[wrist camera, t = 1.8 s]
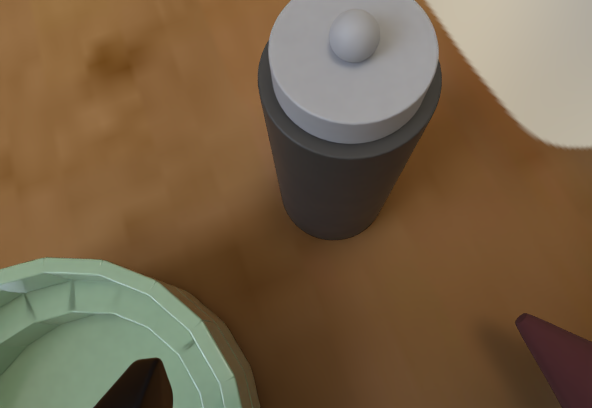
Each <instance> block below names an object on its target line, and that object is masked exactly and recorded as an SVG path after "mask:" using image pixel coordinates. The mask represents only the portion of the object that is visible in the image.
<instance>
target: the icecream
mask: <svg viewBox="0 0 592 408" xmlns="http://www.w3.org/2000/svg"><path fill="white" fill-rule="evenodd" d="M515 324H516V326H517V328H518V330H519V332H520V334H521V336H522V338H523V340H524V341H525V343H526V345H527V347H528V348H529V350H530V352H531V353H532V355H533V357H534V359H535V360H536V362H537V364H538V366H539V367H540V369H541V371H542V372H543V374H544V376H545V378H546V379H547V381H548V383H549V385H550V387H551V388H552V390H553V392H554V394H555V395H556V397H557V399H558V401H559V403H560V404H561V406H562V408H592V342H590V341H588V340H586V339H584V338H582V337H579V336H577V335H575V334H573V333H571V332H568V331H566V330H564V329H562V328H560V327H557V326H555V325H553V324H551V323H549V322H546V321H544V320H542V319H539V318H537V317H534V316H532V315H529V314H527V313H524V314H522V315H520V316H519V317H518V318H517V320H516V321H515Z"/></svg>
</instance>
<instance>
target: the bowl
mask: <svg viewBox="0 0 592 408" xmlns="http://www.w3.org/2000/svg"><path fill="white" fill-rule="evenodd" d="M154 357H157V358H160V359H161V360H162V362H163V364H164V367H165V370H166V373H167V376H168V379H169V382H170V385H171V388H172V392H173V408H261V407H260V403H259V398H258V394H257V390H256V386H255V381H254V377H253V373H252V369H251V367H250V365H249V363H248V361H247V360H246V358H245V356H244V354H243V353H242V351H241V349H240V348H239V346H238V344H237V343H236V341H235V339H234V338H233V336H232V334H231V333H230V331H229V329H228V327H227V326H226V325H225V324H224V322H223V321H222V320H221V319H220V318H218V317H217V316H216V315H215V314H214V313H213V312H211V311H210V310H209V309H208V308H207V307H206V306H204V305H203V304H202V303H201V302H200V301H199V300H197V299H196V298H195V297H194V296H193V295H192V294H190V293H189V292H187V291H186V290H183V289H180V288H178V287H175V286H173V285H170V284H168V283H165V282H162V281H160V280H157V279H155V278H152V277H150V276H147V275H144V274H142V273H139V272H136V271H133V270H131V269H128V268H125V267H123V266H120V265H117V264H114V263H112V262H109V261H106V260H102V259H79V258H54V257H46V258H40V259H36V260H32V261H29V262H25V263H21V264H18V265H14V266H10V267H7V268H3V269H0V408H93V407H94V406H95V405H96V404H97V402H98V401H99V400H100V399H101V398H102V397H103V396H104V395H105V393H106V392H107V391H108V390H109V389H110V388H111V387H112V385H113V384H114V383H115V382H116V381H117V380H118V379H119V377H120V376H121V375H122V374H123V373H124V372H125V371H126V370H127V368H128V367H129V366H130V365H131V364H132V363H133V362H134V361H136V360H138V359H146V358H154Z"/></svg>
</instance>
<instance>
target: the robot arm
mask: <svg viewBox="0 0 592 408" xmlns="http://www.w3.org/2000/svg"><path fill="white" fill-rule="evenodd" d="M93 408H173V392H172V388H171V385H170V382H169V379H168V376H167V373H166V370H165V367H164V364H163V362H162V360H161V359H160V358H157V357H154V358H146V359H138V360H136V361H134V362H133V363H132V364H131V365H130V366H129V367H128V368H127V370H126V371H125V372H124V373H123V374H122V375H121V376H120V377H119V379H118V380H117V381H116V382H115V383H114V384H113V385H112V387H111V388H110V389H109V390H108V391H107V392H106V393H105V395H104V396H103V397H102V398H101V399H100V400H99V401H98V402H97V404H96V405H95V406H94V407H93Z"/></svg>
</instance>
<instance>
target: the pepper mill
mask: <svg viewBox="0 0 592 408" xmlns="http://www.w3.org/2000/svg"><path fill="white" fill-rule="evenodd" d="M438 57H439V48H438V41H437V36H436V33H435V30H434V27H433V25H432V23H431V21H430V19H429V17H428V16H427V14H426V13H425V11H424V10H423V9H422V8H421V7H420V5H419V4H418V3H417V2H416V1H414V0H291V1H290V2H289V3H288V4H287V5H286V7H285V8H284V9H283V10H282V11H281V13H280V15H279V16H278V18H277V19H276V21H275V24H274V26H273V28H272V31H271V35H270V38H269V41H268V42H267V44H266V46H265V48H264V50H263V53H262V55H261V59H260V63H259V69H258V88H259V94H260V99H261V103H262V108H263V112H264V117H265V122H266V126H267V131H268V136H269V140H270V145H271V149H272V154H273V159H274V163H275V168H276V173H277V177H278V182H279V186H280V191H281V196H282V200H283V204H284V207H285V210H286V212H287V214H288V215H289V217H290V218H291V220H292V221H293V222H294V223H295V224H296V225H297V226H298V227H299V228H300V229H301V230H303V231H304V232H306V233H308V234H310V235H312V236H314V237H317V238H321V239H325V240H341V239H346V238H349V237H353V236H355V235H357V234H359V233H361V232H362V231H364V230H365V229H366V228H367V227H369V226H370V225H371V224H372V222H373V221H374V220H375V219H376V217H377V216H378V214H379V212H380V210H381V208H382V207H383V205H384V203H385V201H386V199H387V197H388V196H389V194H390V192H391V190H392V188H393V186H394V185H395V183H396V181H397V179H398V177H399V176H400V174H401V172H402V170H403V168H404V166H405V165H406V163H407V161H408V159H409V157H410V156H411V154H412V152H413V150H414V148H415V146H416V145H417V143H418V141H419V139H420V137H421V136H422V134H423V132H424V130H425V128H426V126H427V125H428V123H429V121H430V119H431V117H432V115H433V113H434V111H435V109H436V107H437V104H438V101H439V98H440V93H441V86H442V74H441V68H440V63H439V59H438Z"/></svg>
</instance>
